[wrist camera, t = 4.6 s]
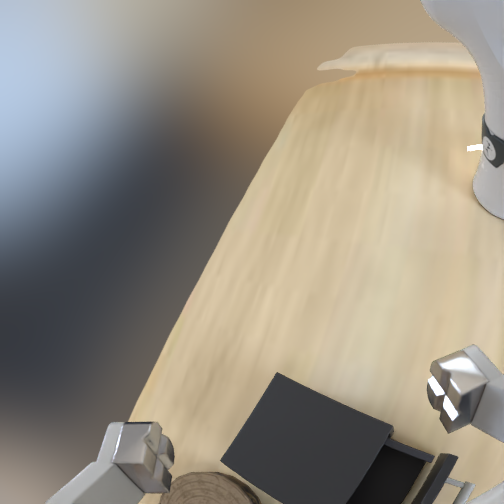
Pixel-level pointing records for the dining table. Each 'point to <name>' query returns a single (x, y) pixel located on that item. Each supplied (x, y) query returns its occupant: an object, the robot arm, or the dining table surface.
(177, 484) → the round wood slice
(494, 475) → the dining table surface
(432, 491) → the drawer
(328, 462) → the cabinet
